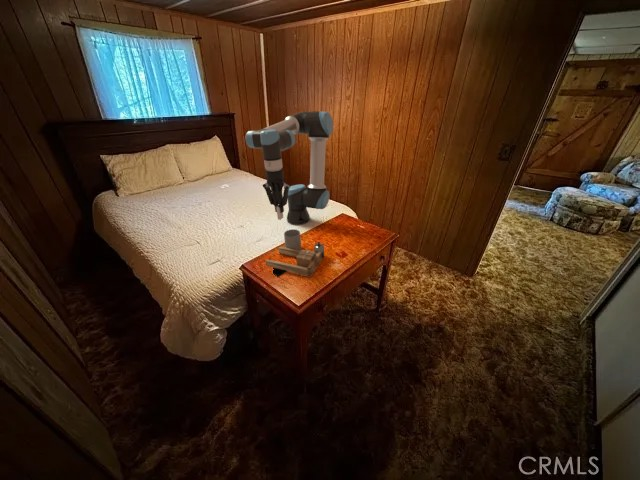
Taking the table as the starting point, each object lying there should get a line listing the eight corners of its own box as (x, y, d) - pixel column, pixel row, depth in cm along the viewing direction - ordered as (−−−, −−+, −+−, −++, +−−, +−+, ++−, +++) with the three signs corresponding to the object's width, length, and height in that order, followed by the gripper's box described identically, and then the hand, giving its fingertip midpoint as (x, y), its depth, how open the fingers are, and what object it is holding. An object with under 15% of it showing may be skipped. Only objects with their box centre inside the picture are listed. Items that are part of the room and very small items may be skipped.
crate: (303, 261, 127) (302, 248, 124) (316, 263, 125) (316, 251, 121) (297, 269, 122) (295, 256, 118) (310, 272, 119) (310, 259, 116)
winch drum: (316, 252, 133) (316, 239, 129) (325, 254, 132) (325, 240, 127) (312, 257, 129) (312, 243, 125) (322, 259, 128) (321, 245, 123)
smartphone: (257, 266, 125) (277, 278, 116) (257, 265, 125) (277, 276, 116) (269, 259, 130) (289, 270, 121) (268, 258, 129) (289, 269, 121)
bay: (280, 252, 135) (279, 244, 132) (321, 260, 127) (321, 251, 125) (266, 266, 124) (265, 258, 121) (310, 276, 116) (310, 267, 114)
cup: (298, 254, 133) (297, 237, 128) (283, 252, 134) (281, 236, 129) (302, 245, 140) (301, 229, 135) (288, 244, 141) (286, 228, 136)
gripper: (256, 170, 108) (264, 220, 120) (283, 172, 104) (289, 223, 116) (265, 165, 114) (272, 213, 126) (291, 167, 109) (296, 216, 122)
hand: (280, 218), depth 121 cm, fingers closed
